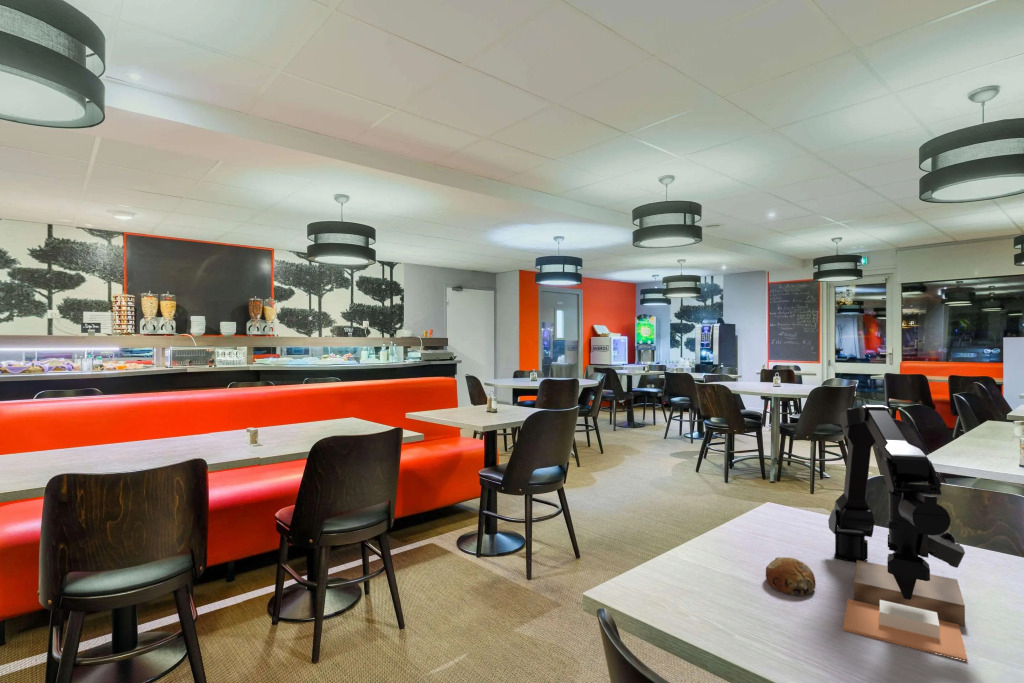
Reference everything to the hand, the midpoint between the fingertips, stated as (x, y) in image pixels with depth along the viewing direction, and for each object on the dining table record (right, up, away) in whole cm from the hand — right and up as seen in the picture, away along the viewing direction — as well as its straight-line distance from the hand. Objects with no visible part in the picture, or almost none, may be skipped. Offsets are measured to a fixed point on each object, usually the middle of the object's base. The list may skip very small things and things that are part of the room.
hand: (907, 598), depth 104 cm
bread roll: (-14, -5, +16) cm, 22 cm away
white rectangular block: (-1, -3, -1) cm, 4 cm away
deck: (+7, -5, +10) cm, 13 cm away
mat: (-3, -5, -2) cm, 6 cm away
